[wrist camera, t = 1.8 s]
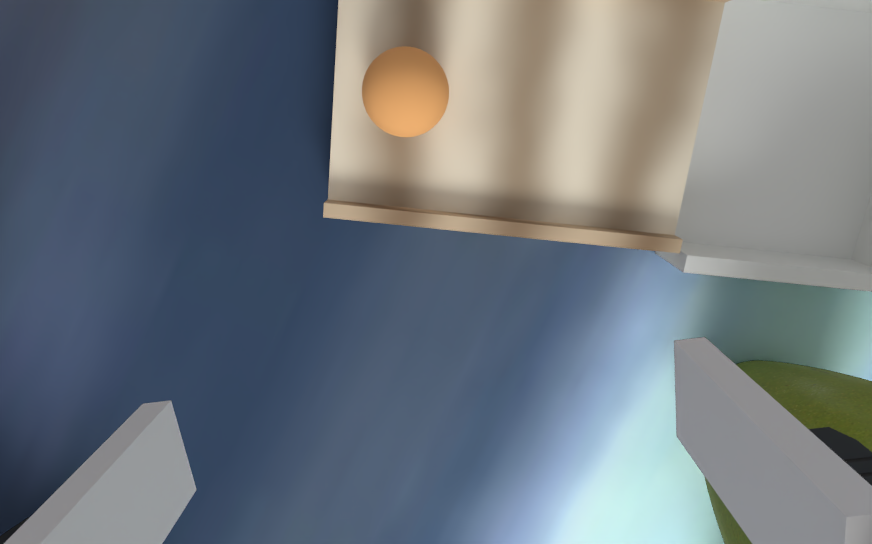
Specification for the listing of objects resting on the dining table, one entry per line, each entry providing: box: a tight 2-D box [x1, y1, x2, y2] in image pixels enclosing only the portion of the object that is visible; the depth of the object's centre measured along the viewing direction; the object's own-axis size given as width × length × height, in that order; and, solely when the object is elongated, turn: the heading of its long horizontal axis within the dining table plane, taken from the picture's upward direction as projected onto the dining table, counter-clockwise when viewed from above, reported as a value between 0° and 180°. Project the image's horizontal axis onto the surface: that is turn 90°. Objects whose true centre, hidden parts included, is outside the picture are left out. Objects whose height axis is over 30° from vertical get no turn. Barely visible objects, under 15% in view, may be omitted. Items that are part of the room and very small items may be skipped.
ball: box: [362, 46, 449, 137], centre depth 30 cm, size 4×4×4 cm
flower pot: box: [705, 360, 872, 544], centre depth 33 cm, size 15×15×16 cm
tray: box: [655, 0, 872, 292], centre depth 33 cm, size 13×16×4 cm
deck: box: [323, 0, 731, 253], centre depth 33 cm, size 20×14×4 cm
